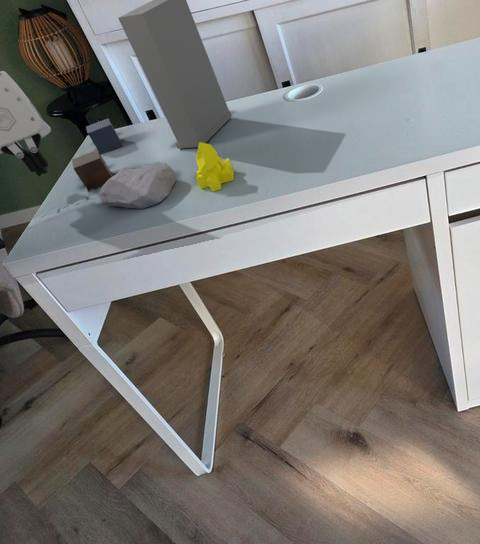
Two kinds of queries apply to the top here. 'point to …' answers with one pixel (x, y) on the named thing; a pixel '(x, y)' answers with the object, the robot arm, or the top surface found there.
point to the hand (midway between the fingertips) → (42, 171)
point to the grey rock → (139, 186)
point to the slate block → (104, 136)
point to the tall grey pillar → (177, 69)
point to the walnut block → (92, 170)
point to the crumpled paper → (212, 168)
